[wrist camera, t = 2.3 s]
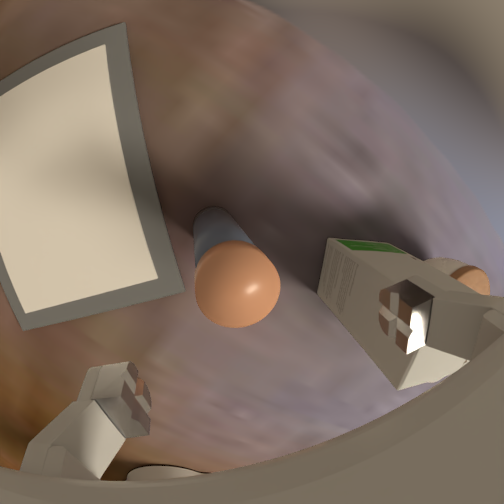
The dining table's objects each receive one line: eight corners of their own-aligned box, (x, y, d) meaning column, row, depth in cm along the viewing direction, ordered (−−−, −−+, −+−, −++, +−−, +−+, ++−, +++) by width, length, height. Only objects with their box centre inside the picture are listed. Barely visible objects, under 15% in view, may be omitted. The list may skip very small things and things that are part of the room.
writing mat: (185, 288, 26) (185, 292, 26) (25, 328, 24) (22, 332, 23) (126, 24, 18) (124, 20, 17) (-33, 108, 15) (-37, 107, 14)
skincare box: (388, 242, 30) (498, 298, 15) (374, 296, 32) (467, 371, 17) (323, 236, 28) (437, 306, 13) (311, 297, 30) (398, 396, 15)
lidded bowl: (360, 284, 31) (423, 334, 20) (433, 225, 31) (501, 250, 20) (386, 350, 35) (433, 398, 25) (447, 295, 35) (499, 328, 25)
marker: (238, 241, 26) (286, 314, 14) (198, 252, 26) (208, 336, 13) (229, 200, 25) (272, 239, 12) (187, 211, 24) (184, 262, 12)
